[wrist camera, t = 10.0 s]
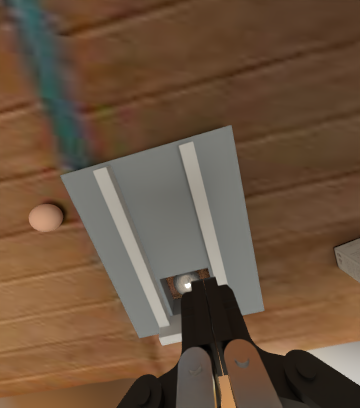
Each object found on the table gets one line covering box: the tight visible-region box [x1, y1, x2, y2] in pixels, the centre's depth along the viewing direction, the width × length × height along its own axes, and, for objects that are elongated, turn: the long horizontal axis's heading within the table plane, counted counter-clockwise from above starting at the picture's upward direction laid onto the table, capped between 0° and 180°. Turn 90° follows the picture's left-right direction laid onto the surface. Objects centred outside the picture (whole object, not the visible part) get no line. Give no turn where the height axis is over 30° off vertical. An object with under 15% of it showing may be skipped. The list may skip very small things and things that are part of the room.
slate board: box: [61, 125, 264, 345], centre depth 25 cm, size 27×20×6 cm
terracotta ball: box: [29, 204, 63, 232], centre depth 24 cm, size 4×4×4 cm
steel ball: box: [173, 271, 200, 295], centre depth 27 cm, size 4×4×4 cm
